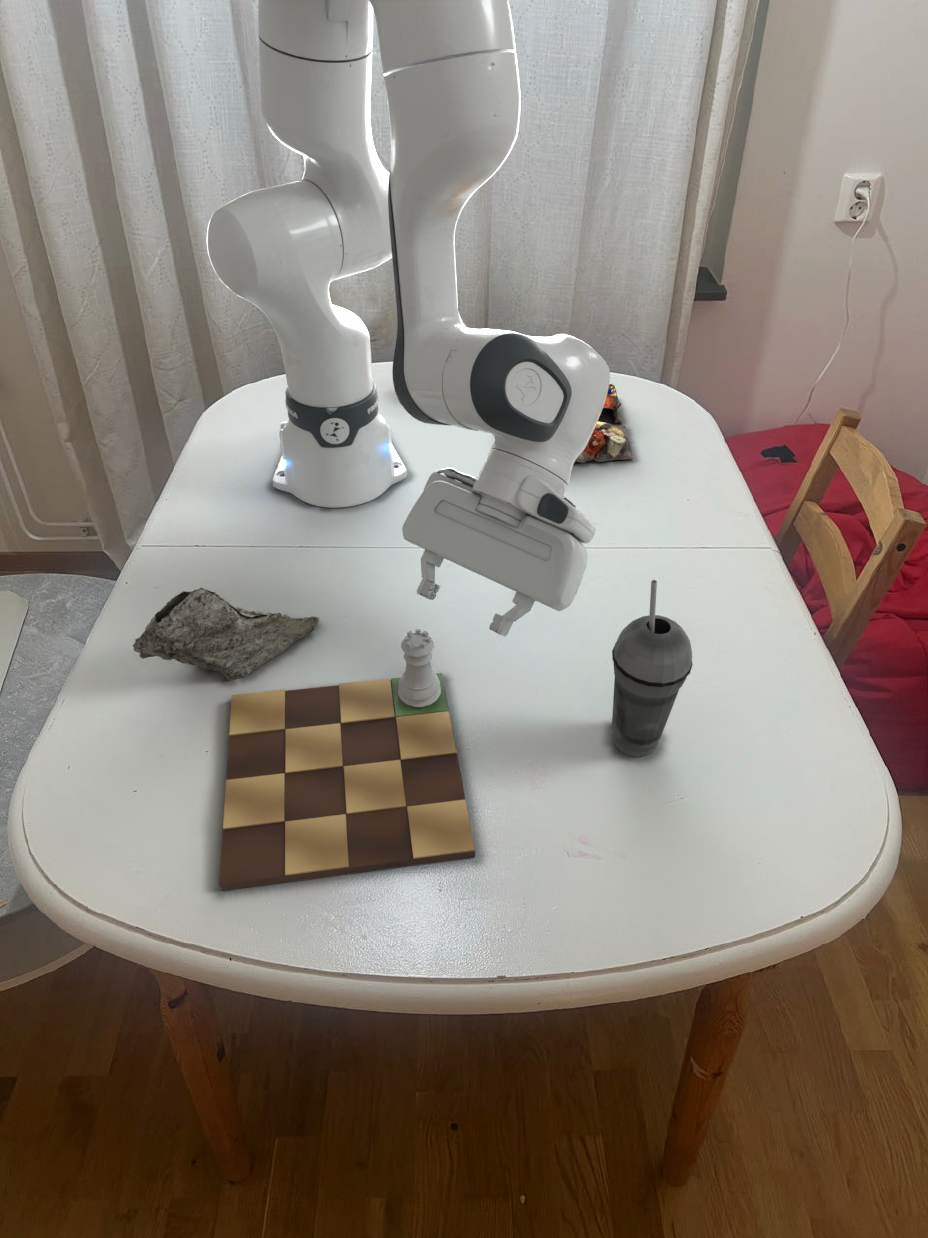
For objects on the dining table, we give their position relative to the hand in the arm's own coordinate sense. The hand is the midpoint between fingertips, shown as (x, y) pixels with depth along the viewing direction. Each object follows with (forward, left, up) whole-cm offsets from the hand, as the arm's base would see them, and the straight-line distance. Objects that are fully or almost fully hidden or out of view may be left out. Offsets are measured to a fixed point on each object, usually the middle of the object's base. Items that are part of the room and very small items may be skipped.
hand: (460, 614), depth 89 cm
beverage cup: (+13, +16, -7) cm, 22 cm away
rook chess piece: (+5, -5, -6) cm, 9 cm away
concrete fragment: (-5, -24, -7) cm, 26 cm away
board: (+13, -13, -7) cm, 20 cm away
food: (-49, +24, -7) cm, 55 cm away
